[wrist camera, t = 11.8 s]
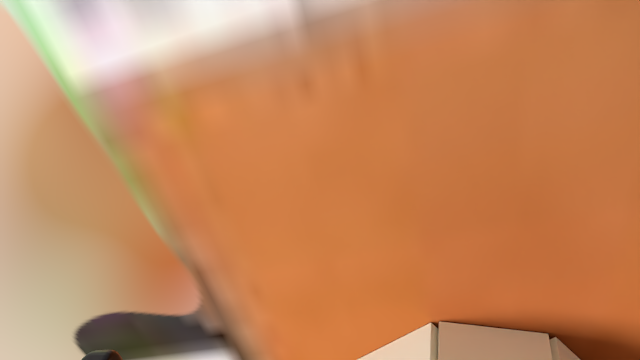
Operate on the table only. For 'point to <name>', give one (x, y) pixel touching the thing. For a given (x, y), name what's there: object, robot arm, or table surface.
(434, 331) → the sage bowl
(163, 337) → the table surface
